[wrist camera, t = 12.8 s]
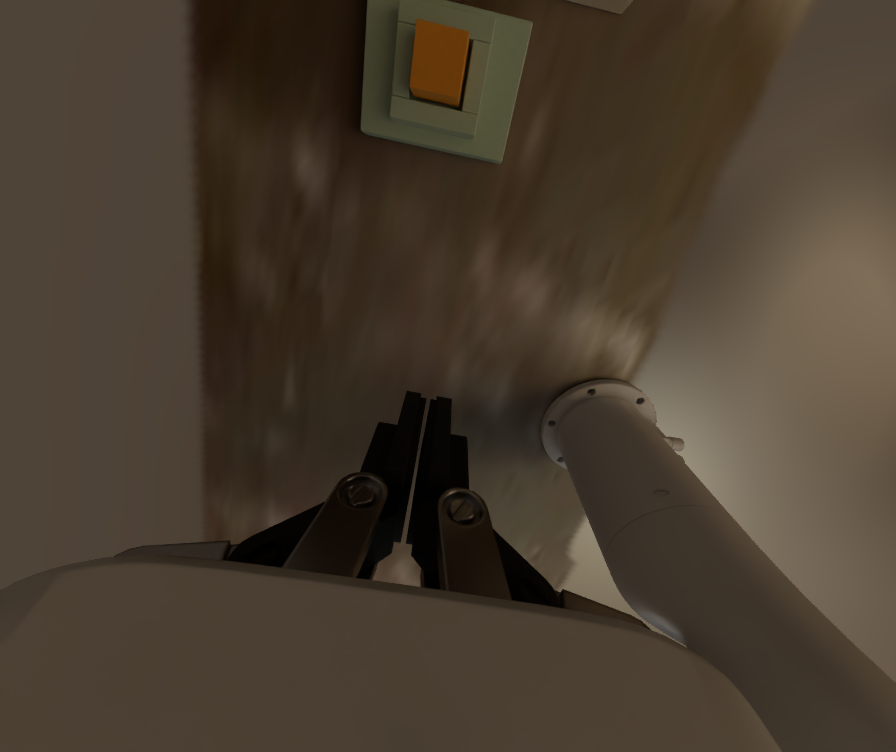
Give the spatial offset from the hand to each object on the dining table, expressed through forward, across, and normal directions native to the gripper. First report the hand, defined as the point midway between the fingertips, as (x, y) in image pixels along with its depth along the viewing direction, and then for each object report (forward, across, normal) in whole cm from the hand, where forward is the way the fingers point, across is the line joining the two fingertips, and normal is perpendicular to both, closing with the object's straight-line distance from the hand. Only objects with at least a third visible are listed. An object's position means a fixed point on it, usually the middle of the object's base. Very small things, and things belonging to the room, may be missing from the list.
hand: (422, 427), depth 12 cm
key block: (+22, +3, -15) cm, 27 cm away
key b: (+19, +3, -15) cm, 24 cm away
